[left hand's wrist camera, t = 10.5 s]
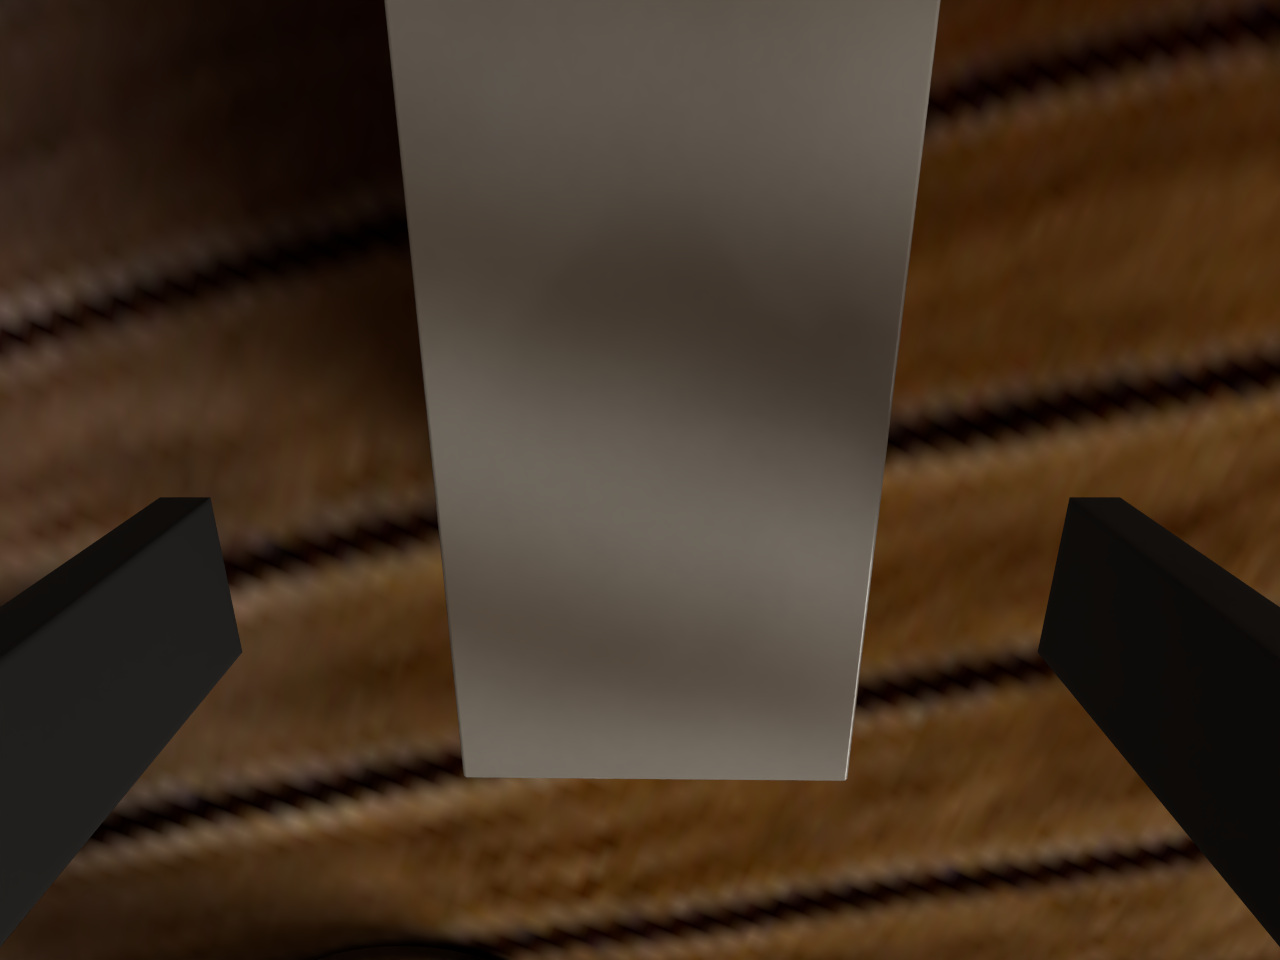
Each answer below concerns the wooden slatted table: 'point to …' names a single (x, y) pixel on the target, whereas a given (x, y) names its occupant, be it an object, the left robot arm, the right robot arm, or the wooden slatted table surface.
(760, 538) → the cabinet
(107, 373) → the wooden slatted table surface
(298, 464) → the wooden slatted table surface
